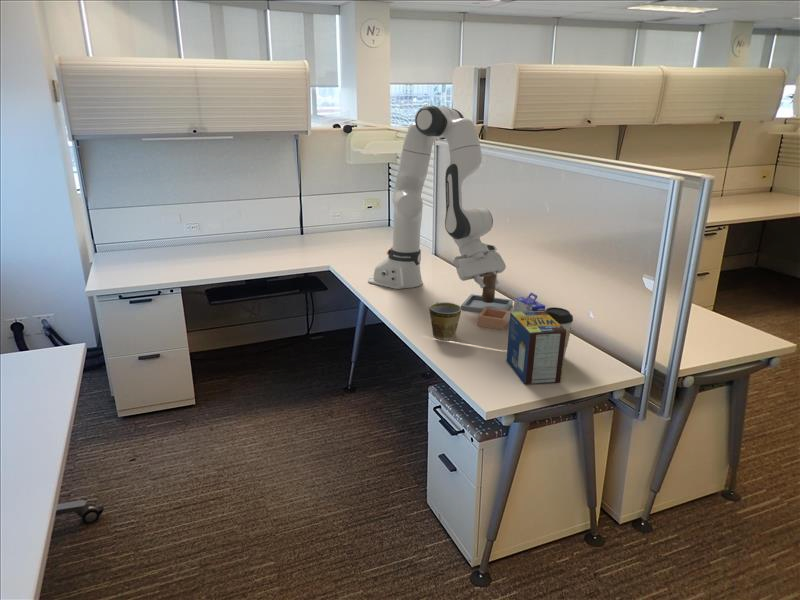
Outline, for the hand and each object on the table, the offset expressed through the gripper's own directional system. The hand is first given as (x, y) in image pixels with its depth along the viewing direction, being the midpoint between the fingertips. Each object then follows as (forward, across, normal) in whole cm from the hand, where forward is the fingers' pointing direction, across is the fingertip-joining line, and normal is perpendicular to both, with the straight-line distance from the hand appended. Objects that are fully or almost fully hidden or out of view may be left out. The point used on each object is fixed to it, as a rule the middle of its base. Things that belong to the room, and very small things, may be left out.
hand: (490, 285), depth 205 cm
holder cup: (+15, -9, -3) cm, 18 cm away
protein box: (+38, -24, -25) cm, 51 cm away
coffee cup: (+35, -12, -23) cm, 44 cm away
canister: (+4, 0, +5) cm, 6 cm away
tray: (+6, 0, +7) cm, 9 cm away
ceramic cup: (+14, -30, -1) cm, 33 cm away
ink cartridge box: (+25, -8, -12) cm, 29 cm away
